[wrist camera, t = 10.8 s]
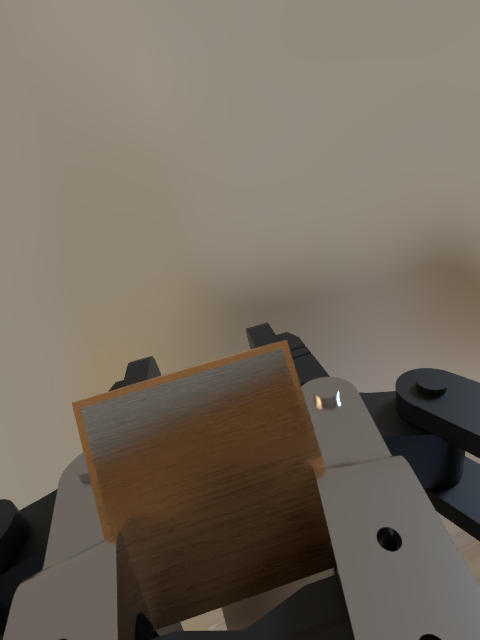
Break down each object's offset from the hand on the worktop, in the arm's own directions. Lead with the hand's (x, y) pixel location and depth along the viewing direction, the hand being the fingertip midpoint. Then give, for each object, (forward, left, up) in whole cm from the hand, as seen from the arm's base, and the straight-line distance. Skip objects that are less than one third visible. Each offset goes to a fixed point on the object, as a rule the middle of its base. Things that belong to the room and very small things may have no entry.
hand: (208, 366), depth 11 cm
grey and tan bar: (0, -6, -3) cm, 7 cm away
